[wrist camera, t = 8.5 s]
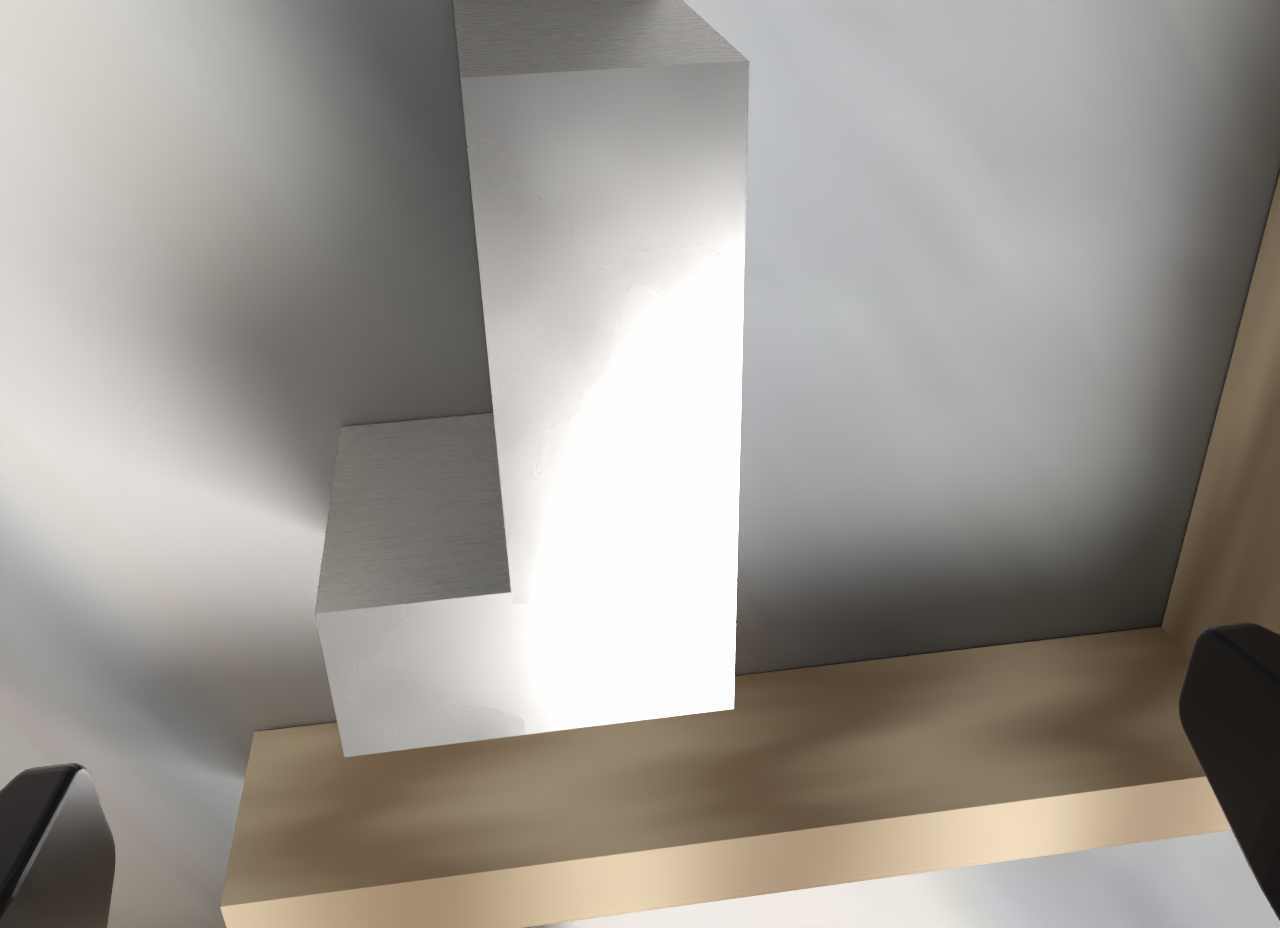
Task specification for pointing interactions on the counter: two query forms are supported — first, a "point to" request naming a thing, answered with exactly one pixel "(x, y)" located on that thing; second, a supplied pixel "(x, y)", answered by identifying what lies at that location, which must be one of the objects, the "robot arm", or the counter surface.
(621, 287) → the bracket
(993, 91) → the counter surface
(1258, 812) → the robot arm
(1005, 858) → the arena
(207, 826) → the counter surface
